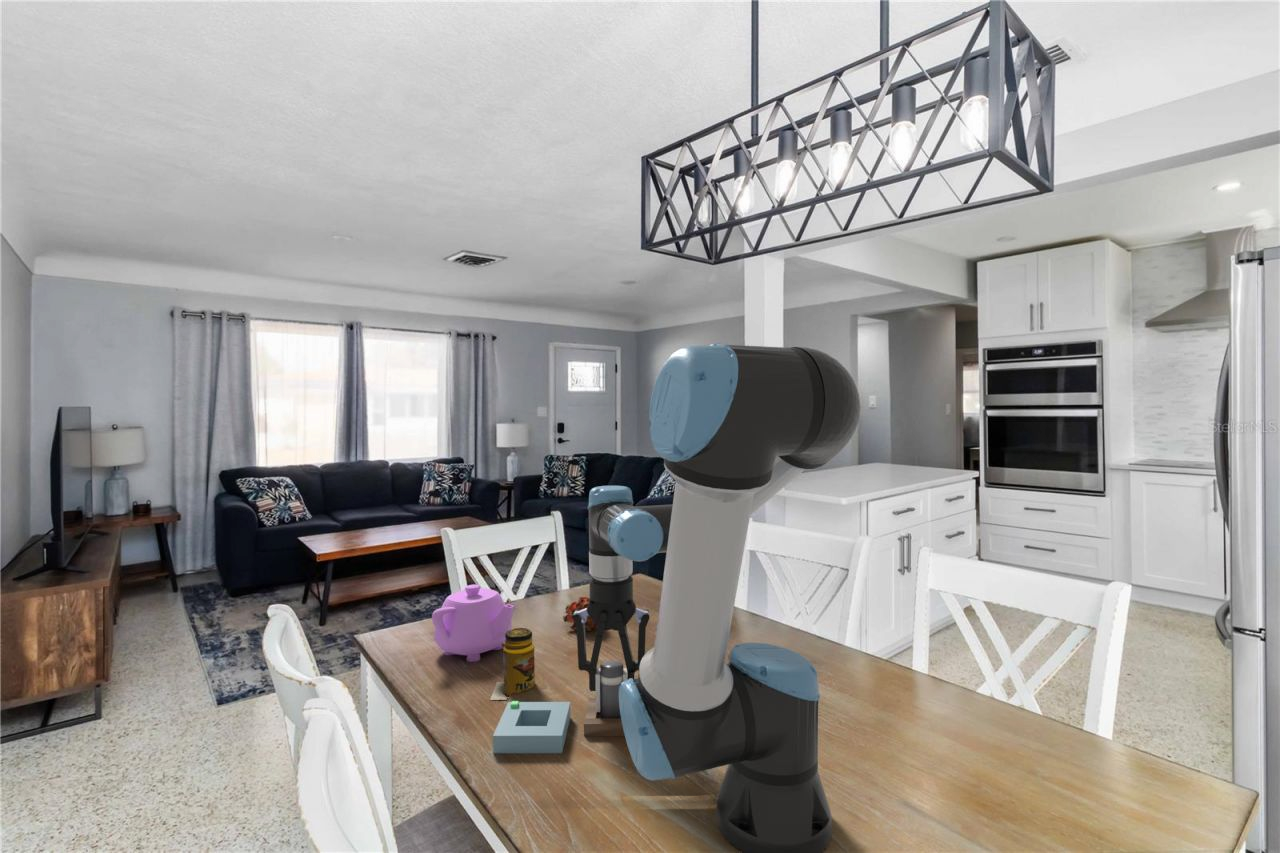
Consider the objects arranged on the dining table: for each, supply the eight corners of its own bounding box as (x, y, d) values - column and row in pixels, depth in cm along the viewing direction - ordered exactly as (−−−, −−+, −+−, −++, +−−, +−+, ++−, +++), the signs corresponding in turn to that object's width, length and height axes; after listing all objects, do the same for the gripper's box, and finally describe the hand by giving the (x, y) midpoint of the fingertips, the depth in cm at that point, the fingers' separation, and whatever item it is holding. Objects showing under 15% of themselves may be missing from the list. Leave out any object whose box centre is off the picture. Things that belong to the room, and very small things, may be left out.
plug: (623, 727, 105) (623, 670, 104) (599, 727, 105) (599, 670, 104) (624, 715, 109) (624, 660, 108) (601, 715, 109) (600, 660, 108)
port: (562, 760, 97) (561, 731, 97) (493, 760, 97) (492, 732, 97) (570, 724, 108) (570, 698, 108) (508, 724, 108) (508, 698, 108)
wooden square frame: (637, 742, 102) (637, 723, 102) (584, 742, 102) (583, 724, 102) (638, 715, 111) (638, 697, 111) (588, 715, 111) (588, 698, 111)
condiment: (534, 699, 117) (533, 638, 117) (489, 701, 117) (488, 639, 117) (538, 682, 125) (538, 624, 124) (497, 683, 124) (496, 625, 124)
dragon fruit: (599, 641, 150) (568, 636, 158) (617, 614, 155) (585, 610, 163) (581, 619, 146) (549, 615, 154) (599, 591, 152) (568, 588, 160)
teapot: (475, 681, 125) (474, 608, 125) (409, 661, 135) (407, 594, 135) (537, 647, 142) (536, 584, 142) (474, 632, 152) (473, 572, 152)
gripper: (659, 569, 109) (660, 697, 110) (564, 569, 110) (566, 697, 110) (661, 581, 102) (661, 719, 103) (558, 582, 102) (560, 719, 103)
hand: (612, 707), depth 107 cm, fingers closed on plug, 4 cm apart
